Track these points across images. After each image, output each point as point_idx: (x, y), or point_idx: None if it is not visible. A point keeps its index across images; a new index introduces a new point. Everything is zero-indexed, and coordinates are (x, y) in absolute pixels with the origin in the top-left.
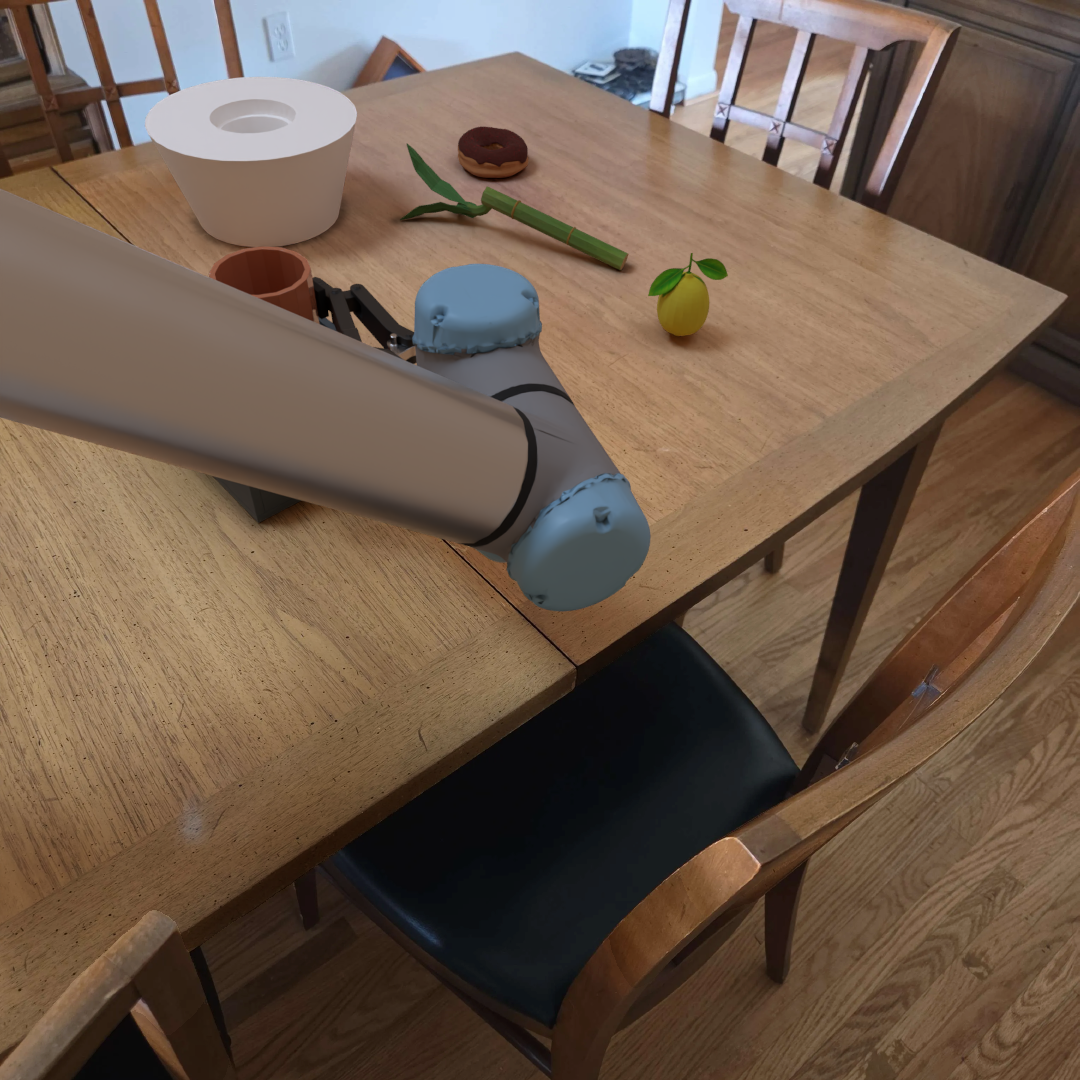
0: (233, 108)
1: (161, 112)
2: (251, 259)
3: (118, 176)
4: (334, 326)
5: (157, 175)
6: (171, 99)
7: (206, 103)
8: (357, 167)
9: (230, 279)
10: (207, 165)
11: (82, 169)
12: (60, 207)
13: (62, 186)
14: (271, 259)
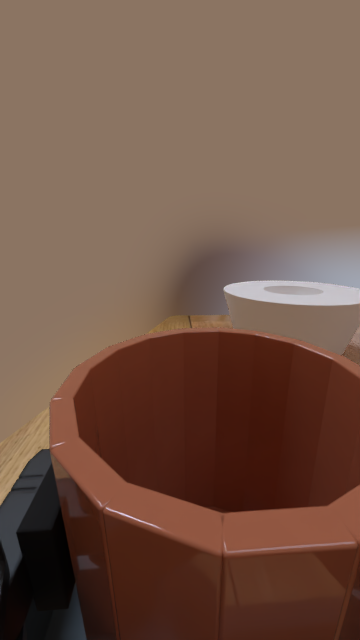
0: (280, 289)
1: (237, 284)
2: (227, 351)
3: (212, 322)
4: None
5: (230, 325)
6: (246, 282)
7: (264, 284)
8: (351, 342)
9: (171, 377)
10: (249, 304)
11: (200, 317)
12: (178, 327)
13: (186, 321)
14: (270, 361)
